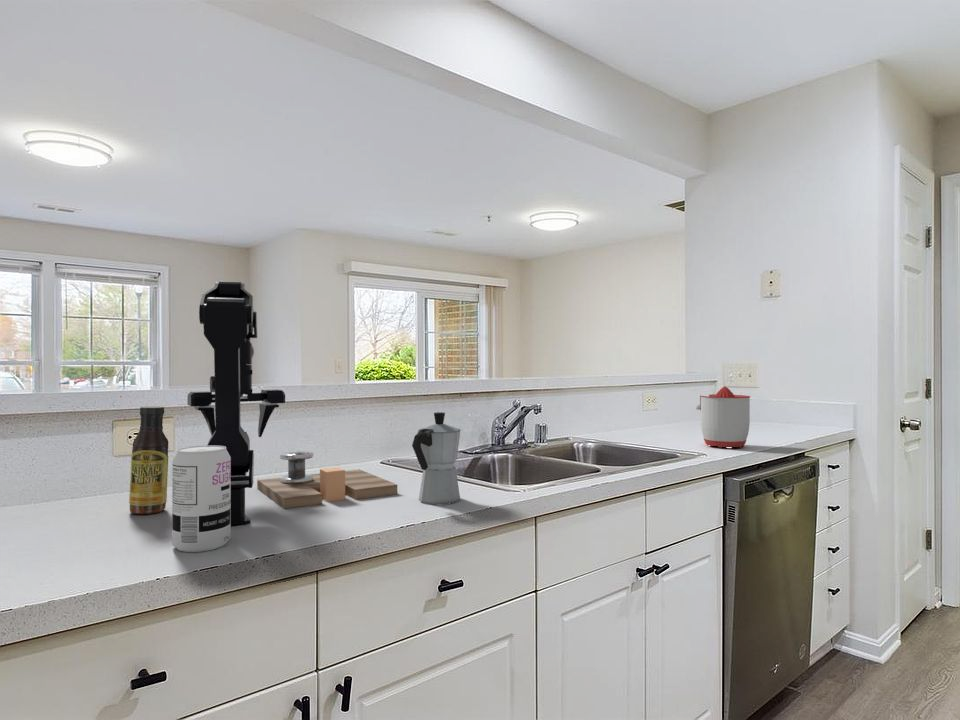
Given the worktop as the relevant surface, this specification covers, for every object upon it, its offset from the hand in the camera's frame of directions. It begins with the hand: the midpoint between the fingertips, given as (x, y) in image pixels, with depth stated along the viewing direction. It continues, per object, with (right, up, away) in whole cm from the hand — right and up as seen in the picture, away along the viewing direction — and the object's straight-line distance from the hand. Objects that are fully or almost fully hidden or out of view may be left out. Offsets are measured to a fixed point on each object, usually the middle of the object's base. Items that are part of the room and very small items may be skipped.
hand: (237, 438), depth 130 cm
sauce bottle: (-11, -12, -14) cm, 22 cm away
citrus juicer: (+132, -12, +74) cm, 152 cm away
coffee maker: (+43, -12, -5) cm, 45 cm away
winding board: (+18, -12, +4) cm, 22 cm away
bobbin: (+11, -10, +5) cm, 16 cm away
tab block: (+21, -12, -3) cm, 24 cm away
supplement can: (+8, -12, -35) cm, 38 cm away
